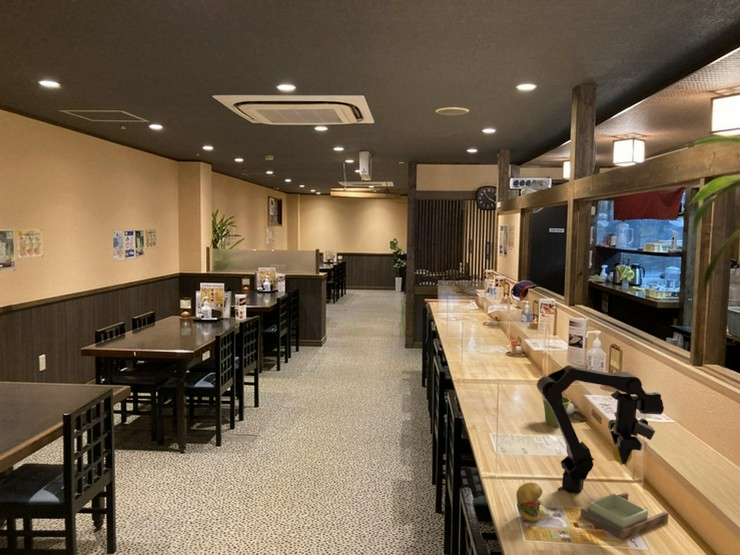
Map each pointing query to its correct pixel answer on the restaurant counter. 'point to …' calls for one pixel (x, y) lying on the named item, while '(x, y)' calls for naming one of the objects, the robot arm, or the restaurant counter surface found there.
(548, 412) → the plant pot
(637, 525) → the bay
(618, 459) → the lemon
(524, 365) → the restaurant counter surface
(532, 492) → the hamburger
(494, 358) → the restaurant counter surface
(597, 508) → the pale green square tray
